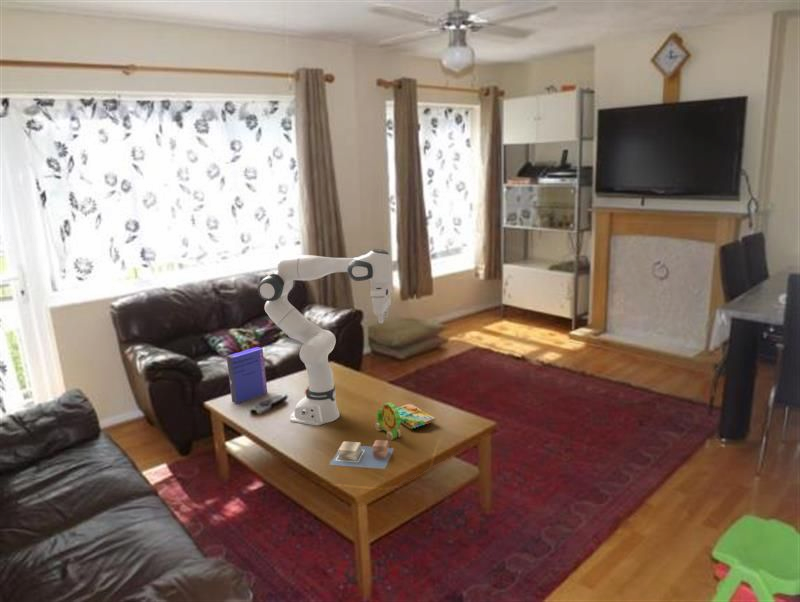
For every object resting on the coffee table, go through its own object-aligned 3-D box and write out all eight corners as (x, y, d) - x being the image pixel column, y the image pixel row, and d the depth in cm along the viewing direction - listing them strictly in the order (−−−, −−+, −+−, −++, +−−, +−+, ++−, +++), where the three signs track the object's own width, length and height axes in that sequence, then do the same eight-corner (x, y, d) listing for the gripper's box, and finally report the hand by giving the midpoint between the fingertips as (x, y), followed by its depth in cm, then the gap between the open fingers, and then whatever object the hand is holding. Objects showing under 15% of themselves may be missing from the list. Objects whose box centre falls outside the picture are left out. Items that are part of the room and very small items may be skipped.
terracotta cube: (373, 457, 222) (372, 445, 220) (376, 451, 226) (375, 439, 225) (385, 458, 221) (385, 446, 219) (388, 452, 225) (388, 440, 224)
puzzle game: (409, 401, 263) (435, 416, 246) (410, 411, 264) (435, 426, 248) (388, 408, 257) (413, 424, 240) (388, 418, 258) (413, 434, 242)
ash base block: (338, 459, 222) (338, 449, 221) (344, 450, 228) (343, 441, 227) (356, 460, 220) (355, 451, 219) (361, 451, 227) (360, 442, 226)
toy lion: (374, 430, 246) (372, 397, 242) (384, 426, 249) (383, 394, 245) (393, 444, 233) (392, 410, 229) (404, 440, 236) (403, 406, 232)
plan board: (329, 466, 218) (329, 464, 218) (342, 446, 233) (341, 444, 233) (385, 470, 213) (384, 468, 213) (394, 449, 229) (394, 447, 228)
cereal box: (262, 390, 296) (257, 346, 290) (267, 392, 293) (262, 348, 287) (231, 401, 284) (226, 355, 278) (237, 403, 281) (231, 357, 275)
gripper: (379, 282, 250) (381, 313, 253) (369, 293, 230) (371, 326, 234) (393, 282, 249) (395, 313, 252) (384, 293, 229) (386, 326, 233)
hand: (383, 319), depth 243 cm, fingers open, 8 cm apart
